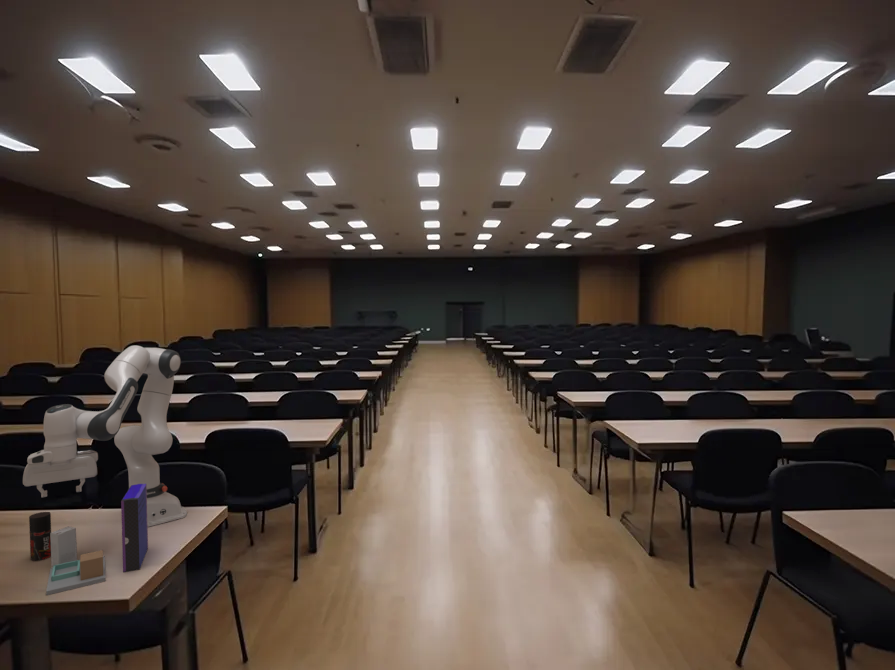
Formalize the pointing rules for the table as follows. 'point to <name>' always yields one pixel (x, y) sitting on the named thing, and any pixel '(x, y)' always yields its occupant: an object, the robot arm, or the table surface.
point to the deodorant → (40, 536)
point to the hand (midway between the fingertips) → (61, 494)
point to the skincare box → (63, 546)
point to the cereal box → (134, 527)
